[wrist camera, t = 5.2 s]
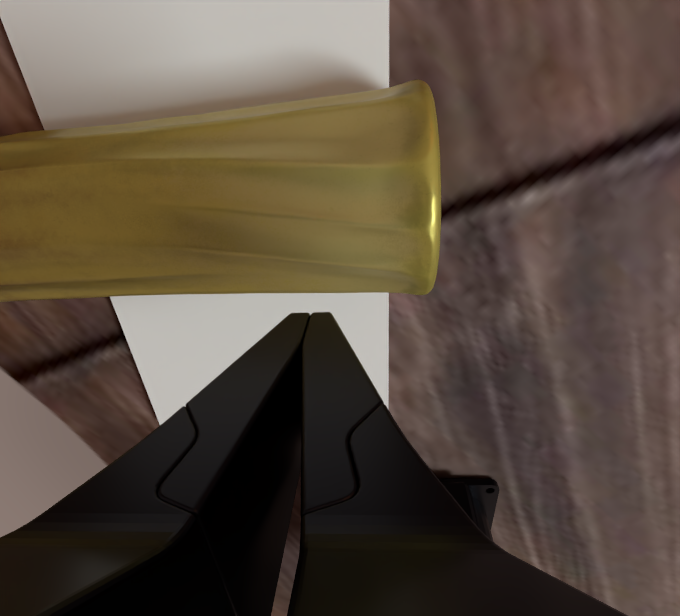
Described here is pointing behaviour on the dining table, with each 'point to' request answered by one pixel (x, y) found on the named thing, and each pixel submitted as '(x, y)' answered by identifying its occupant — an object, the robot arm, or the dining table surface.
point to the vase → (228, 201)
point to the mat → (192, 99)
